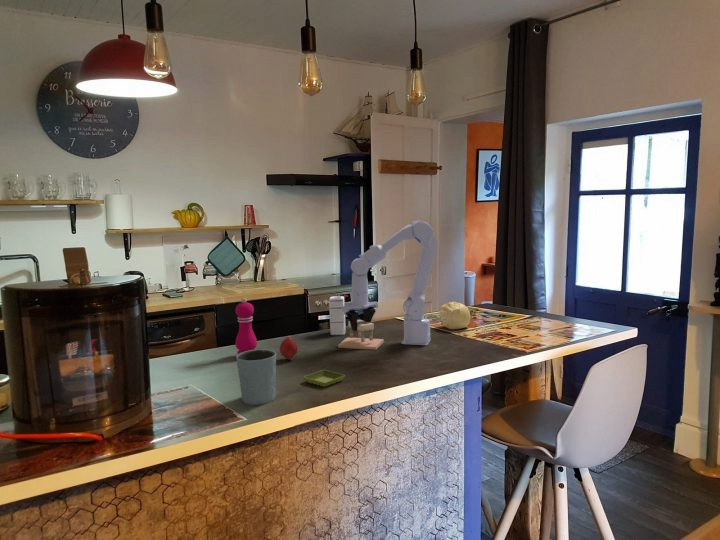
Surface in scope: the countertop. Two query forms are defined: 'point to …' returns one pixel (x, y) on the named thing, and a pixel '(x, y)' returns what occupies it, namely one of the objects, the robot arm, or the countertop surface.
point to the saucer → (324, 378)
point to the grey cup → (257, 375)
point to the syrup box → (337, 315)
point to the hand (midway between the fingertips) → (360, 329)
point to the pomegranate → (288, 348)
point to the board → (360, 343)
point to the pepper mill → (245, 327)
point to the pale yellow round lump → (454, 315)
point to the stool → (362, 329)
